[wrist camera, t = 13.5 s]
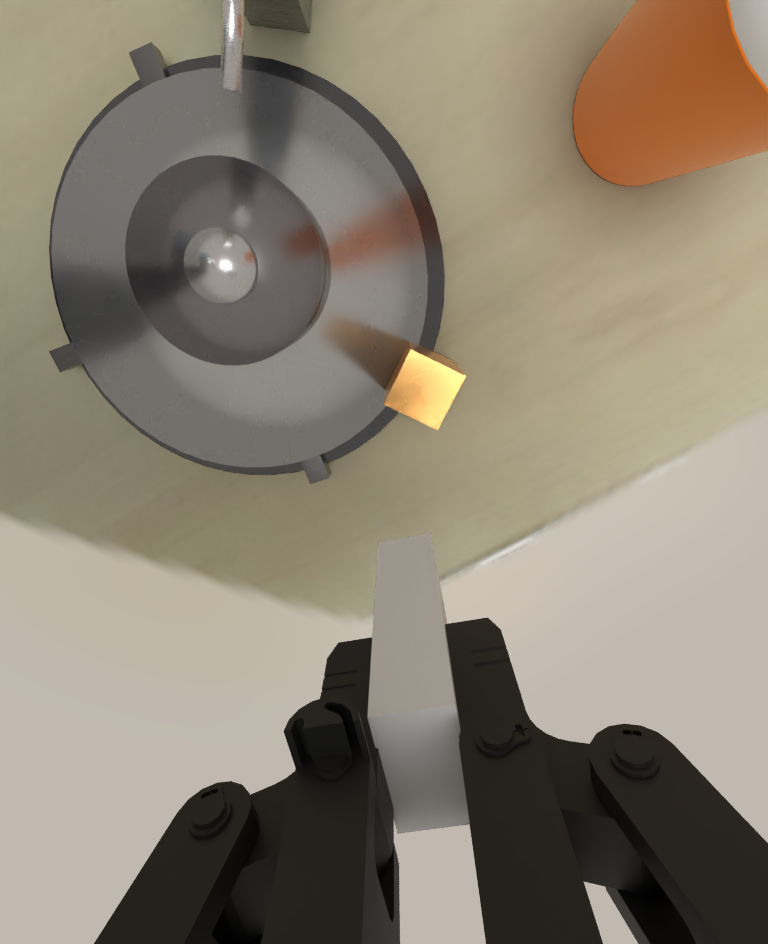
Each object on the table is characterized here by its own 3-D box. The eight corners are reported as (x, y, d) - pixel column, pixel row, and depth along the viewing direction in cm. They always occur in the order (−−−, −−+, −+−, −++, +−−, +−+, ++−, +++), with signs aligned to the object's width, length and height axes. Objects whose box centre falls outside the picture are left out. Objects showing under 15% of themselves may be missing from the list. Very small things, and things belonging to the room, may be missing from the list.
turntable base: (37, 406, 34) (27, 409, 33) (91, -7, 27) (80, -18, 26) (373, 513, 36) (372, 519, 35) (503, 152, 29) (506, 147, 28)
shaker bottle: (656, 237, 30) (1094, 160, 11) (520, 150, 29) (755, -102, 10) (767, 69, 27) (1586, -405, 9) (622, -36, 26) (1205, -855, 7)
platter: (370, 526, 35) (366, 564, 30) (26, 374, 32) (-38, 389, 27) (531, 215, 29) (557, 201, 24) (124, -6, 26) (64, -70, 21)
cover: (290, 383, 31) (273, 399, 26) (138, 308, 30) (94, 313, 25) (359, 226, 28) (353, 215, 24) (195, 138, 27) (156, 109, 22)
